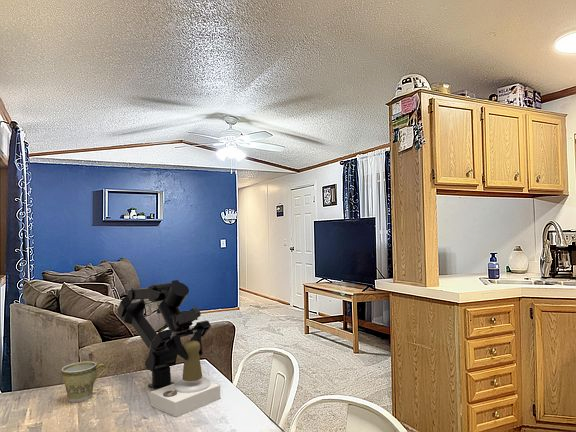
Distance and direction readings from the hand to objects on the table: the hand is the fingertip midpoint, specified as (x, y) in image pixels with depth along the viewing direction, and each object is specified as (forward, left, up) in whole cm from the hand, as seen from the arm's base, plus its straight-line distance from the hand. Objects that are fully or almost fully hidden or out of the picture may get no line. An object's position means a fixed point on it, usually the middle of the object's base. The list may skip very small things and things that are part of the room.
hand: (194, 357), depth 133 cm
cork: (-1, 0, -7) cm, 7 cm away
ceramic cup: (-32, -20, -13) cm, 39 cm away
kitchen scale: (-2, -3, -13) cm, 13 cm away
